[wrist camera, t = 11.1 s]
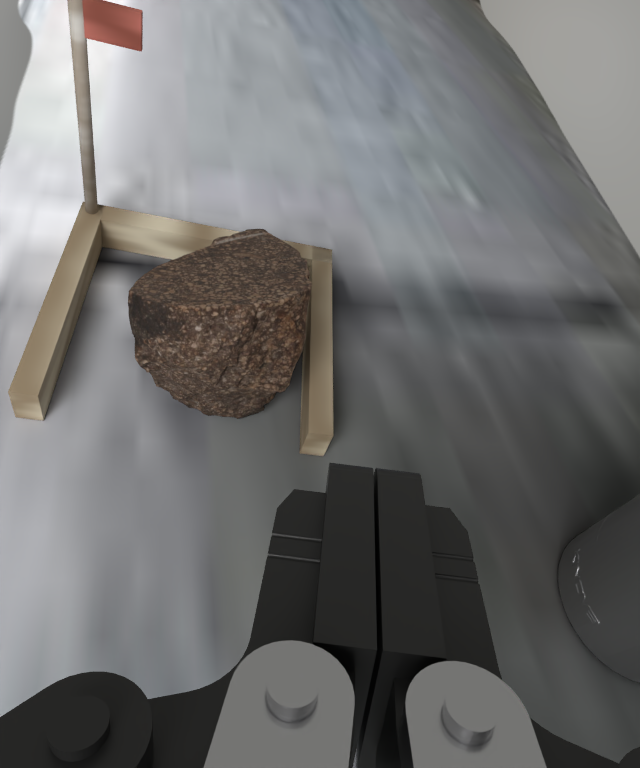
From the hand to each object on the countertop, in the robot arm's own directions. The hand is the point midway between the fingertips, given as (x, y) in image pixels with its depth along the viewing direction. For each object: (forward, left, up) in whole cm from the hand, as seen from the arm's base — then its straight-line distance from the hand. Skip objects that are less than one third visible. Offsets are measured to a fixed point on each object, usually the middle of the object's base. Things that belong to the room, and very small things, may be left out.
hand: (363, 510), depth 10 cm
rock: (+2, -19, -23) cm, 30 cm away
